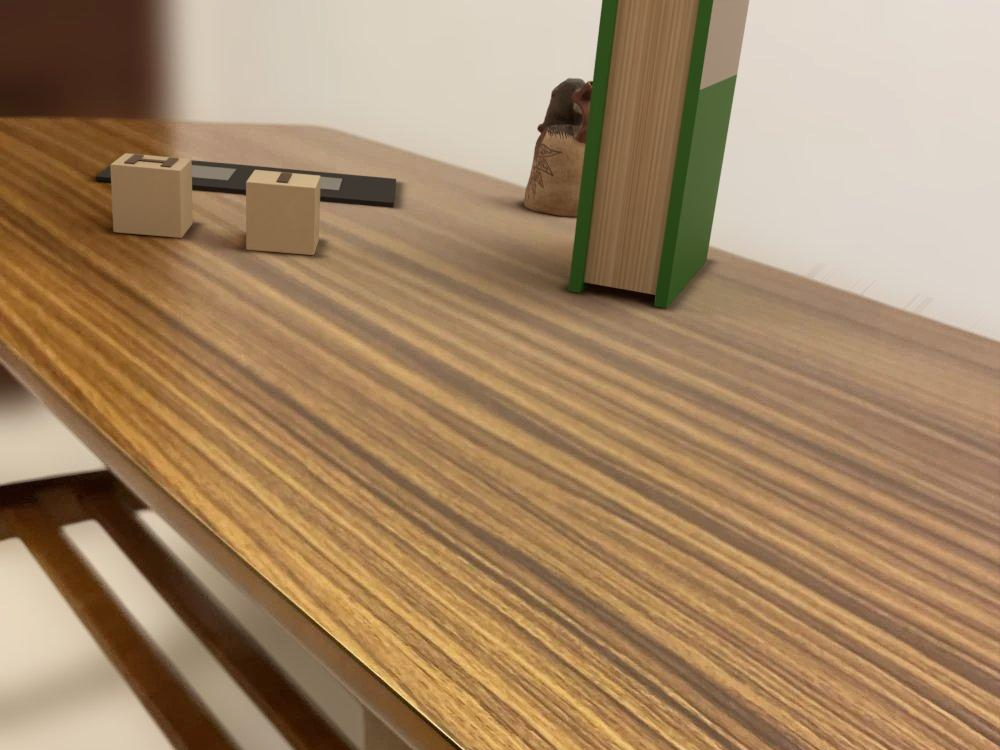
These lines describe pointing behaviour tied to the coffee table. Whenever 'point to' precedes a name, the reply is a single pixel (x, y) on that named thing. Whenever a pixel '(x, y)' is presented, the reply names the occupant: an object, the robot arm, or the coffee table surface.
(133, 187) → the tile
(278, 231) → the tile
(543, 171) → the figurine
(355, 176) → the word mat
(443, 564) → the coffee table surface
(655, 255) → the hardback book
